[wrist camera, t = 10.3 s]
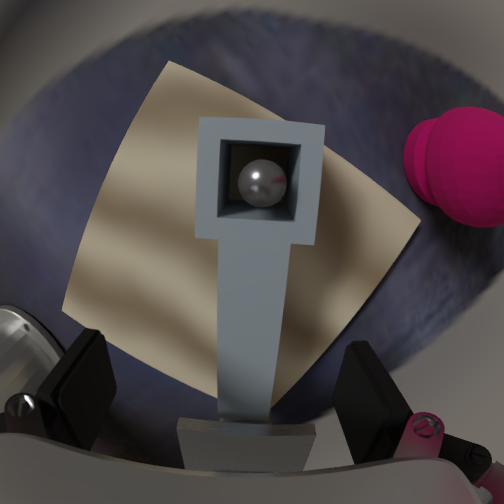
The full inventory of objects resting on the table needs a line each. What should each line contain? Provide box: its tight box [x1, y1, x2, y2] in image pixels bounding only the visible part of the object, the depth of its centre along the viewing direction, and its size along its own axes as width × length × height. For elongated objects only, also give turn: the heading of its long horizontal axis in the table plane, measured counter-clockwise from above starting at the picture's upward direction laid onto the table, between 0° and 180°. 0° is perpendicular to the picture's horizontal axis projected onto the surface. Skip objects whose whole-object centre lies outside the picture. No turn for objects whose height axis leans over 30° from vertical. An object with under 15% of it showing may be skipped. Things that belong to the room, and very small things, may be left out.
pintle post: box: [238, 159, 287, 207], centre depth 14 cm, size 2×2×8 cm
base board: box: [62, 61, 421, 408], centre depth 19 cm, size 20×19×1 cm
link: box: [195, 117, 325, 421], centre depth 16 cm, size 16×5×6 cm, turn 177°
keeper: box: [176, 405, 316, 473], centre depth 18 cm, size 6×7×9 cm
